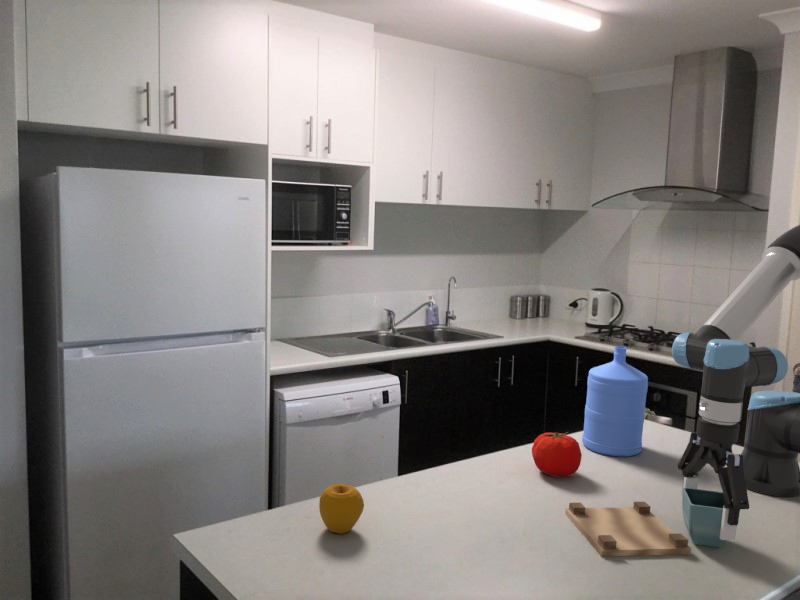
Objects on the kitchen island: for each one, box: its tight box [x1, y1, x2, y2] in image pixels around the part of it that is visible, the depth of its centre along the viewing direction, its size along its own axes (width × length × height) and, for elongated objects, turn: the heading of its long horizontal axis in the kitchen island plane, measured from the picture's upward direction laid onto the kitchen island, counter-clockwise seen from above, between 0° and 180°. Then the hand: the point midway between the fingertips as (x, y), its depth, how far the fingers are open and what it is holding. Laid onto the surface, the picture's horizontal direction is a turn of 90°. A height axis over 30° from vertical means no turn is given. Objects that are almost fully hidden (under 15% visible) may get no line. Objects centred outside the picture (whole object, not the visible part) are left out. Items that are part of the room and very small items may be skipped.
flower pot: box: [681, 486, 733, 548], centre depth 138 cm, size 9×9×9 cm
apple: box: [318, 483, 365, 535], centre depth 135 cm, size 8×8×9 cm
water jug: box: [581, 345, 649, 458], centre depth 190 cm, size 16×16×28 cm
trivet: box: [565, 501, 692, 558], centre depth 141 cm, size 18×18×3 cm
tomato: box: [531, 431, 582, 478], centre depth 170 cm, size 12×12×10 cm
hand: (706, 522), depth 138 cm, fingers open, 13 cm apart
